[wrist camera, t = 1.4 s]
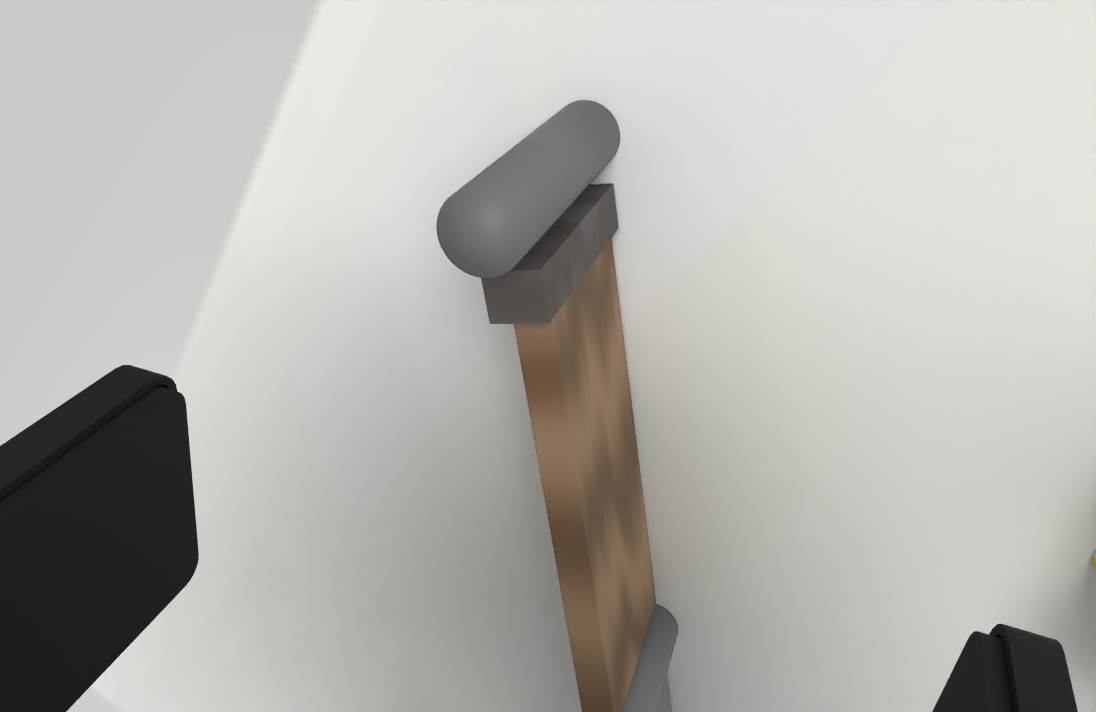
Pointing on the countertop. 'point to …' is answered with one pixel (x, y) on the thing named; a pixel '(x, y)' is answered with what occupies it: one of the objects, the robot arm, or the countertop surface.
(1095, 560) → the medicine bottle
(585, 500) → the gate
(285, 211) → the countertop surface
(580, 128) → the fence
